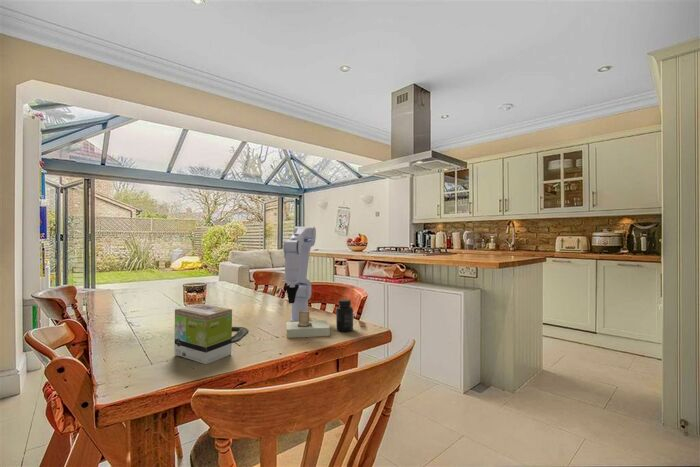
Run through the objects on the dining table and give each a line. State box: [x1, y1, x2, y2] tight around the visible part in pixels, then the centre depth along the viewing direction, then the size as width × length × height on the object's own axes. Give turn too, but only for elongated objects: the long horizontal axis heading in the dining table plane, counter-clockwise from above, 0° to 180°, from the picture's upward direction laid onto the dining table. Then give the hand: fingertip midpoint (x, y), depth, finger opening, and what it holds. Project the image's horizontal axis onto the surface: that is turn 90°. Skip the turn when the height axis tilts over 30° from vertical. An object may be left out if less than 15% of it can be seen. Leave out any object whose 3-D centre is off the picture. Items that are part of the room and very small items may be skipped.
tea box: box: [173, 303, 233, 365], centre depth 103 cm, size 15×10×15 cm, turn 62°
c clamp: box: [232, 326, 249, 344], centre depth 123 cm, size 20×17×3 cm
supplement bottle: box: [335, 298, 354, 333], centre depth 133 cm, size 7×7×12 cm
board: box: [285, 320, 331, 339], centre depth 129 cm, size 11×16×3 cm
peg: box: [298, 311, 310, 327], centre depth 129 cm, size 4×4×8 cm
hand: (291, 302), depth 134 cm, fingers closed
